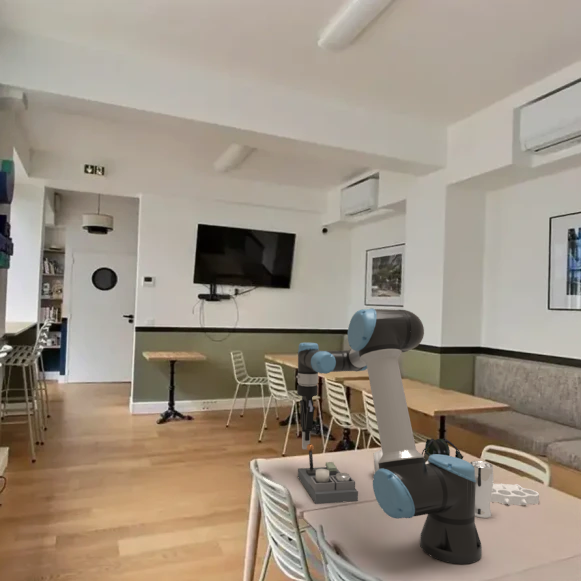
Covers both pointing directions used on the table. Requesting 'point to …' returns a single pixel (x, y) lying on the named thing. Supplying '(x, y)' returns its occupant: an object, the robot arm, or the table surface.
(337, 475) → the metal button
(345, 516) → the table surface
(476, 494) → the beer glass
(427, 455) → the headphones
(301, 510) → the table surface
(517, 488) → the knuckle duster
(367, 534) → the table surface
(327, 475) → the white button
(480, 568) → the table surface
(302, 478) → the switch panel
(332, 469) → the rocker switch
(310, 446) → the toggle lever
